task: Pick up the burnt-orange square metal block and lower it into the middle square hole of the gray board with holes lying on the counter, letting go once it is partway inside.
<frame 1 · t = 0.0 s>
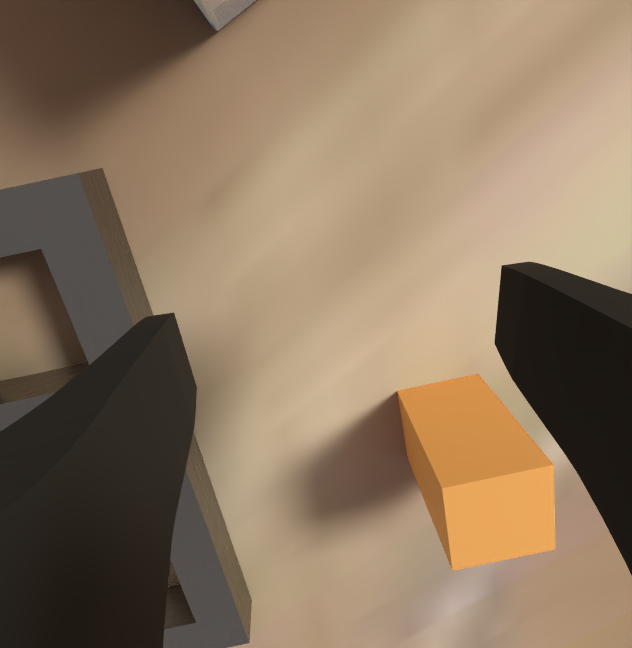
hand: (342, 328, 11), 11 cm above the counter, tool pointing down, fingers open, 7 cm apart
gray board with holes: (89, 446, 24), on the counter
square block: (441, 417, 25), on the counter
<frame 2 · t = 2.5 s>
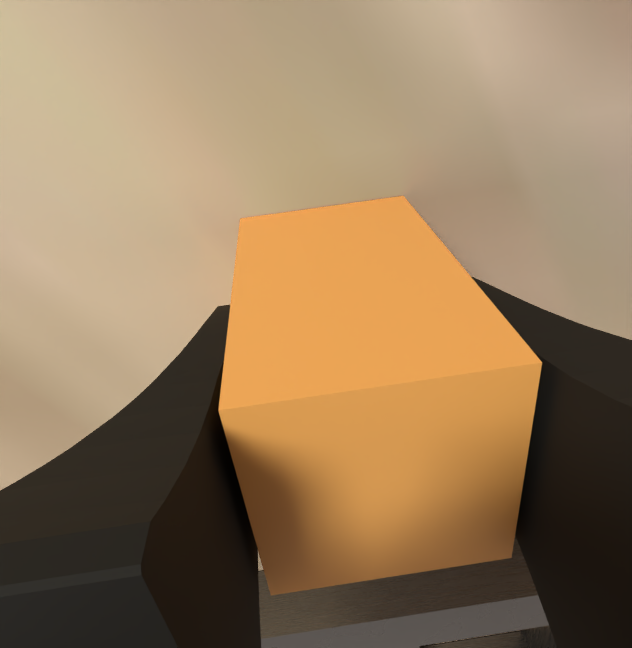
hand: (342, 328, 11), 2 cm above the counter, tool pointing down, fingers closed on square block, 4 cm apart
gray board with holes: (310, 632, 22), on the counter
square block: (330, 280, 13), on the counter, touching gripper
when the fingers open (3 cm above the counter, at t = 7.0 s): square block stays where it is, resting in gray board with holes.
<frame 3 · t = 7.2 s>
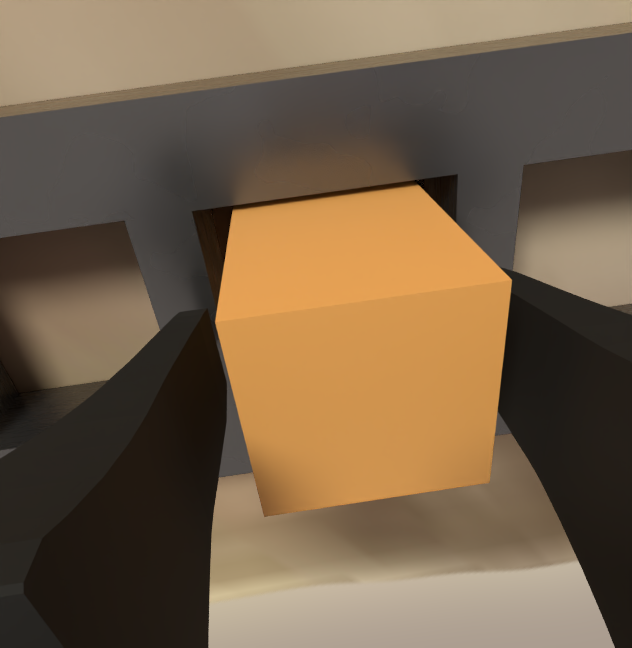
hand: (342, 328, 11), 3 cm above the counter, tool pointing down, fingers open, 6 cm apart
gray board with holes: (325, 265, 14), on the counter
square block: (323, 243, 14), resting in gray board with holes
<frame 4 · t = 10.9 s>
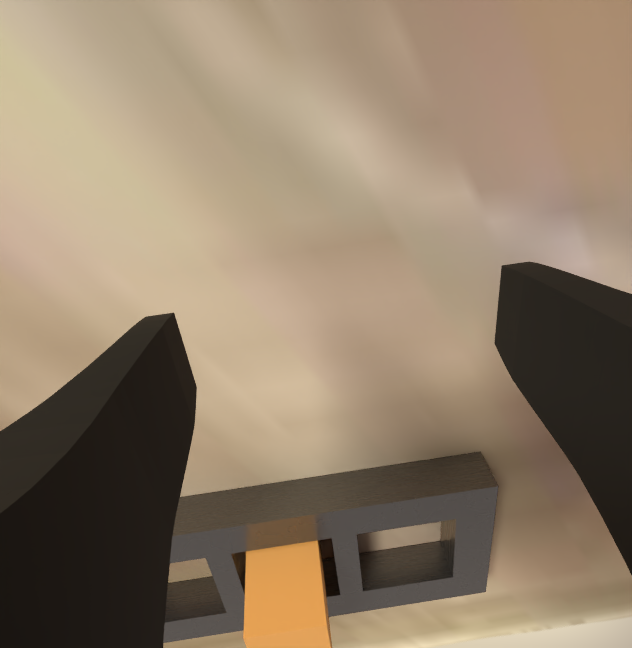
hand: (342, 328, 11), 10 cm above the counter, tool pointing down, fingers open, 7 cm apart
gray board with holes: (286, 537, 31), on the counter
square block: (285, 530, 31), resting in gray board with holes
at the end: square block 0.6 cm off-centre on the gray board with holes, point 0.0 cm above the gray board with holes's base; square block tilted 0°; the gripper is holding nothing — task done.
